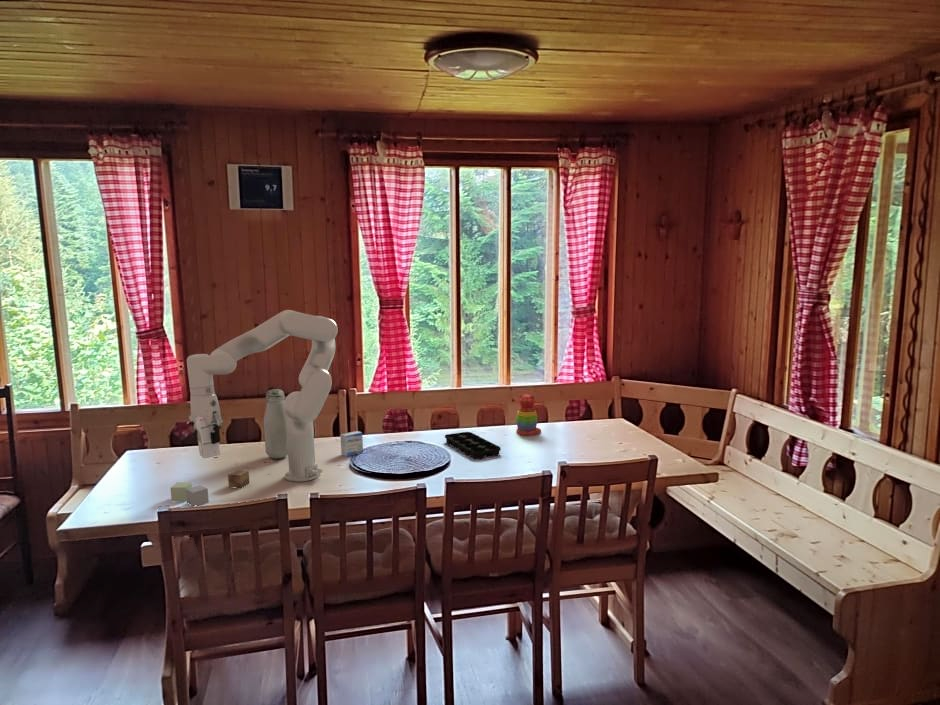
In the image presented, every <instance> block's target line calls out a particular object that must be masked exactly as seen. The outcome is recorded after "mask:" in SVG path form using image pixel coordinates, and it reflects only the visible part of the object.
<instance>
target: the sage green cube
mask: <svg viewBox="0 0 940 705" xmlns="http://www.w3.org/2000/svg"><path fill="white" fill-rule="evenodd" d="M192 487H193V482H192V481H188V482H187V481H185V482H183V481H181V482H178V481H177V482H176V483H174V484H173V485H172V486H171V487H170V498H171V499H170V500H171V502H172V501H187V499H186V489H189V488H192Z"/></svg>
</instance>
